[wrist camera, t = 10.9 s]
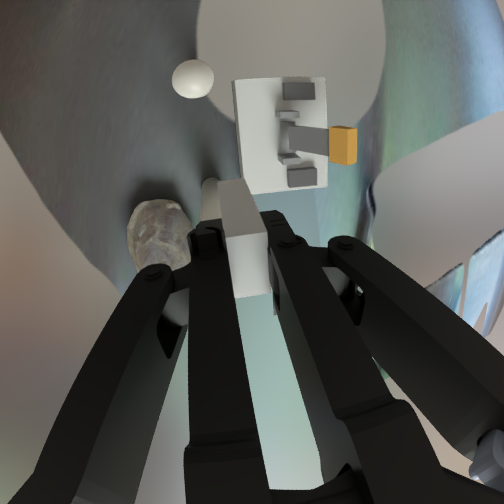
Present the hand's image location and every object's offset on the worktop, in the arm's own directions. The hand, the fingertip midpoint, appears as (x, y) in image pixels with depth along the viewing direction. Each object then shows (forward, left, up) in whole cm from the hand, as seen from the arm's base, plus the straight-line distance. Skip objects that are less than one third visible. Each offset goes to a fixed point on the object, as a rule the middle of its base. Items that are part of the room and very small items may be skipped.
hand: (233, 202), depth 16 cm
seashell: (+15, -11, -28) cm, 34 cm away
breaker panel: (0, +9, -28) cm, 29 cm away
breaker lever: (0, +9, -22) cm, 23 cm away
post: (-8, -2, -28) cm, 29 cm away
